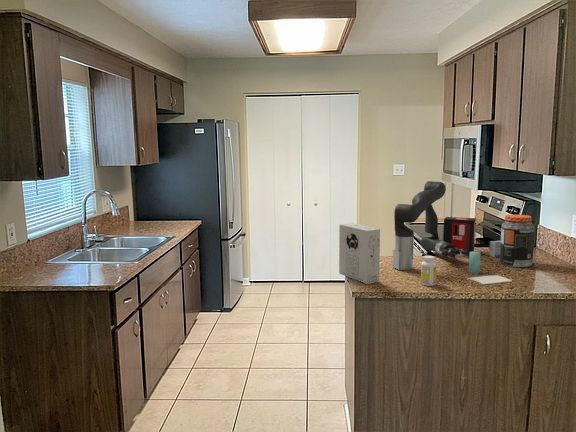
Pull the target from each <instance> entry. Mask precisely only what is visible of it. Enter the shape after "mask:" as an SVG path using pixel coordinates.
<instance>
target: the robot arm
mask: <svg viewBox="0 0 576 432" xmlns="http://www.w3.org/2000/svg"><path fill="white" fill-rule="evenodd" d="M446 187H447V186H446V184H445V183H443V182H442V181H426V182H425V183H424V188H423V191H420V192H418V193H417V194H415V195H414V196H413V198H412V199H411V204H409V203H407V204H405V203H398V204H397V205H396V206H395V208H394V210H393V211H394V213H393V214H394V220H393V221H394V233H395V234H394V249H393V250H392V268H393V267H394V268H393V269H395V268H396V269H395V270H397V269H398V271H411V269H412V270H413V268H414V235H415V231H414V230H413V229H412V228H409V227H408V226H407V225H406V224H405V223H409V224H412V223H414V222H416V221H417V220H418V219H419V218H420V216H421V215H422V213H424V212H425V213H424V214H425V218H424V221H425V223H424V232H425V233H427V234H431V236H425V237H423V238H421V240H420V246H421V247H422V248H423V249H424V250H427V251H432V252H435V253H437V254H439V255H441V256H443V257H445V258H452V259H456V256H459V257H461V256H465V257H467V258H469V255H470V253H469V250H466V249H463V248H461V249H457V248H455V246H454V245H453V244H450V243H448V242H444V241H443V240H440V238H439V231H438V226H439V225H438V224H439V218H438V214H437V213H436V211H435V209H434V206H433V203H435V202H437V201H438V200H440V199H442V198H443V197H444V196H445V194H446V192H447V191H446V190H447V188H446ZM459 252H460V254H459Z"/></svg>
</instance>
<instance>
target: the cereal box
mask: <svg viewBox="0 0 576 432" xmlns="http://www.w3.org/2000/svg"><path fill="white" fill-rule="evenodd" d="M338 226H339V238H338V239H339V241H338V243H339V247H338V248H339V249H338V251H339V253H338V256H339V258H338V260H339V261H338V267H339V269H338V274H339V275H342V276H345V277H347V278H350V279H353V280H355V279H356V280H355V281H357V280H358V281H357V282H360V281H361V282H360V283H362V282H363V284H365V285H369V284H375V282H376V283H379V282H380V261H381V259H380V258H381V257H380V253H381V252H380V251H381V249H380V248H381V229H379V228H376V227H371V226H367V225H362V224H358V223H354V222H348V223H340V224H339V225H338Z"/></svg>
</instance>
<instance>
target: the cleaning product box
mask: <svg viewBox="0 0 576 432" xmlns="http://www.w3.org/2000/svg"><path fill="white" fill-rule="evenodd" d="M476 219H477V218H476V217H475V218H473V217H455V216H445V217H444V219H443V235H442V237H443V238H442V239H443V240H442V241H444V242H448V243H450V244H453V245H454V246H455V248H457V249H461V248H463V249H466V250H469V253H470V252H475V243H476V242H475V240H476V221H477V220H476ZM459 254H460V252H459Z"/></svg>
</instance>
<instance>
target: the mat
mask: <svg viewBox="0 0 576 432" xmlns="http://www.w3.org/2000/svg"><path fill="white" fill-rule="evenodd" d="M466 279H468V280H471V281H473V282H476V283H479V284H481V285H492V284H500V283H501V284H502V283H510V282H513V280H512V279H509V278H508V277H507V278H506V277H503V276H501V275H498V274H496V273H488V274H479V275H469V276H468V275H467V276H466Z"/></svg>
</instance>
